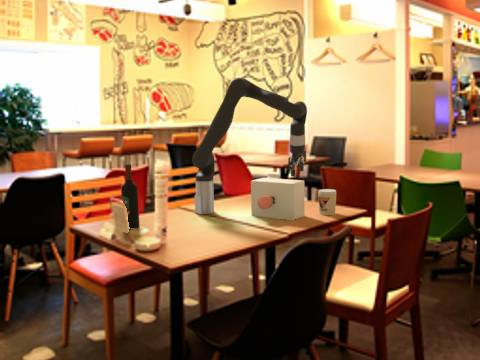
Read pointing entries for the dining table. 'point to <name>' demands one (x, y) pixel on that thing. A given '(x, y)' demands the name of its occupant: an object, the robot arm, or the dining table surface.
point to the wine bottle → (130, 198)
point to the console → (279, 198)
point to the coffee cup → (327, 201)
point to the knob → (265, 202)
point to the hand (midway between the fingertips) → (297, 173)
